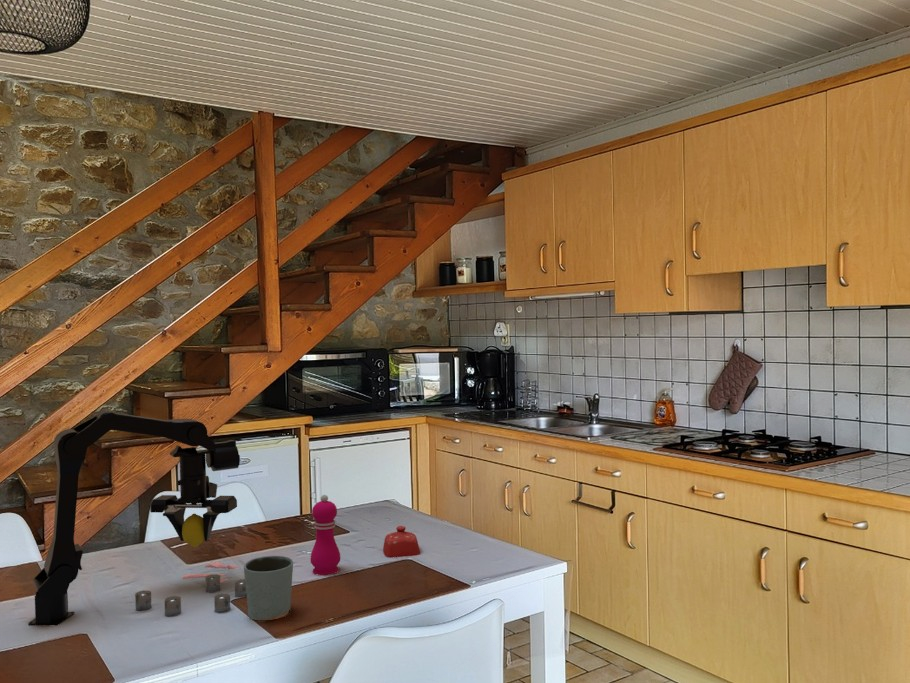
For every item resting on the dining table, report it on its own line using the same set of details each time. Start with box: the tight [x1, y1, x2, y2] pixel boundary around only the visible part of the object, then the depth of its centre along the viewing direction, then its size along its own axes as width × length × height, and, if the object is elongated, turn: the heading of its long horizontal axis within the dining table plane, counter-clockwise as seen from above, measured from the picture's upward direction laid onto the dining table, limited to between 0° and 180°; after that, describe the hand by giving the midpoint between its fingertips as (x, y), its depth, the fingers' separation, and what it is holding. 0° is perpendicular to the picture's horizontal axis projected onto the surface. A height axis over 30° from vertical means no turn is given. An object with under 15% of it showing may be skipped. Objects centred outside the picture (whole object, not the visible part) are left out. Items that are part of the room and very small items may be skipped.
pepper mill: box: [310, 494, 341, 576], centre depth 185 cm, size 7×7×20 cm
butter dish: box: [382, 525, 421, 559], centre depth 199 cm, size 12×12×8 cm
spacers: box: [134, 573, 247, 617], centre depth 168 cm, size 17×22×4 cm
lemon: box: [182, 513, 205, 549], centre depth 176 cm, size 6×6×8 cm
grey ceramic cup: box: [243, 555, 294, 620], centre depth 159 cm, size 10×10×12 cm
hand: (195, 540), depth 177 cm, fingers closed on lemon, 5 cm apart
